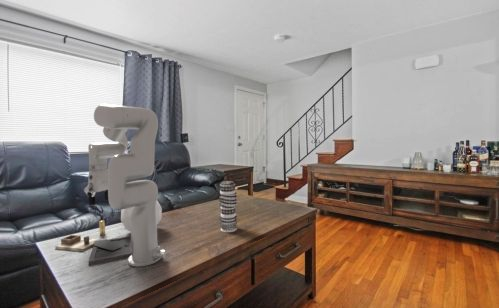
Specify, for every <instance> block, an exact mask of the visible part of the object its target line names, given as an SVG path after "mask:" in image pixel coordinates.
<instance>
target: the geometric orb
mask: <svg viewBox="0 0 499 308" xmlns="http://www.w3.org/2000/svg"><path fill="white" fill-rule="evenodd" d="M133 209H134V207H131V208H127V209H122V210H120V221H121V223H122V226H123V227H124V229H125V230H127V231H128V232H131V226H130V216H131V213H132V211H133ZM162 212H163V208H162V206H161V204H160V202H159V201H158V200H157V204H156V221H157V225H158V224H159V223H160V221H161V220H162Z"/></svg>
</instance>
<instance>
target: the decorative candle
mask: <svg viewBox="0 0 499 308" xmlns="http://www.w3.org/2000/svg"><path fill="white" fill-rule="evenodd" d="M219 186H220V190H219V193H218V195H219V196H218V199H219V207H220V216H219V217H220V224H219V225H220V231H221V232H223V233H233V232H236V231H237V230H238V228H237V227H238V225H237V224H238V223H237V212H236V208H237V205H236V204H237V201H238V200H237V197H238V195H237V194H238V193H237V192H236V183H234V181H231V180H224V181H222V182H220V184H219Z"/></svg>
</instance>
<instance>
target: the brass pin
mask: <svg viewBox="0 0 499 308" xmlns="http://www.w3.org/2000/svg"><path fill="white" fill-rule="evenodd" d="M98 226H99V227H98V228H99V236H106V223H105V220H104V219H102V220H99V221H98Z"/></svg>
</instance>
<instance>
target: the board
mask: <svg viewBox="0 0 499 308" xmlns="http://www.w3.org/2000/svg"><path fill="white" fill-rule="evenodd" d="M98 240H102V239H101V238H90V236H88V235H87V236H84V237H81V235H80V234H79V235H77V234H71V235H68V236H65V237H63V238H61V239H60V242H61V243H60V244H57V245H55V247H54V248H55V250H61V251H62V250H64V251H74V252H82V253H83V252H86V251H87V250H89V249H91V248H93V244H94V241H98Z"/></svg>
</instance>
